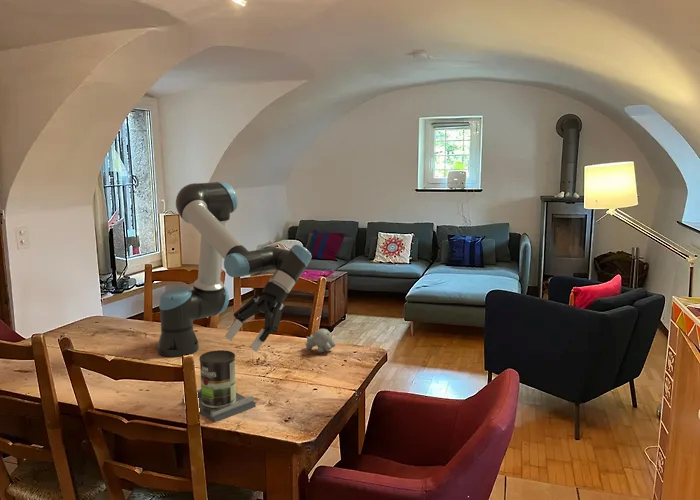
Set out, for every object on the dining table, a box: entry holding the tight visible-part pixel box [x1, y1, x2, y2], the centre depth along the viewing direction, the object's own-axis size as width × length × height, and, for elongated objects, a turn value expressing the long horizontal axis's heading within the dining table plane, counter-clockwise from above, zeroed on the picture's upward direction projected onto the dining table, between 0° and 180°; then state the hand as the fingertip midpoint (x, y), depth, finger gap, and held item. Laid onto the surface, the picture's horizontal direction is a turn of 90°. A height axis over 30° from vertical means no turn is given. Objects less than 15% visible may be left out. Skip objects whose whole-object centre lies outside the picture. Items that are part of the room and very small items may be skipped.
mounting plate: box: [181, 388, 257, 423], centre depth 167 cm, size 18×14×3 cm
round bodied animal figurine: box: [304, 328, 336, 354], centre depth 213 cm, size 7×12×8 cm, turn 62°
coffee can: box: [198, 349, 237, 408], centre depth 166 cm, size 10×10×14 cm
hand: (240, 344), depth 170 cm, fingers open, 13 cm apart
